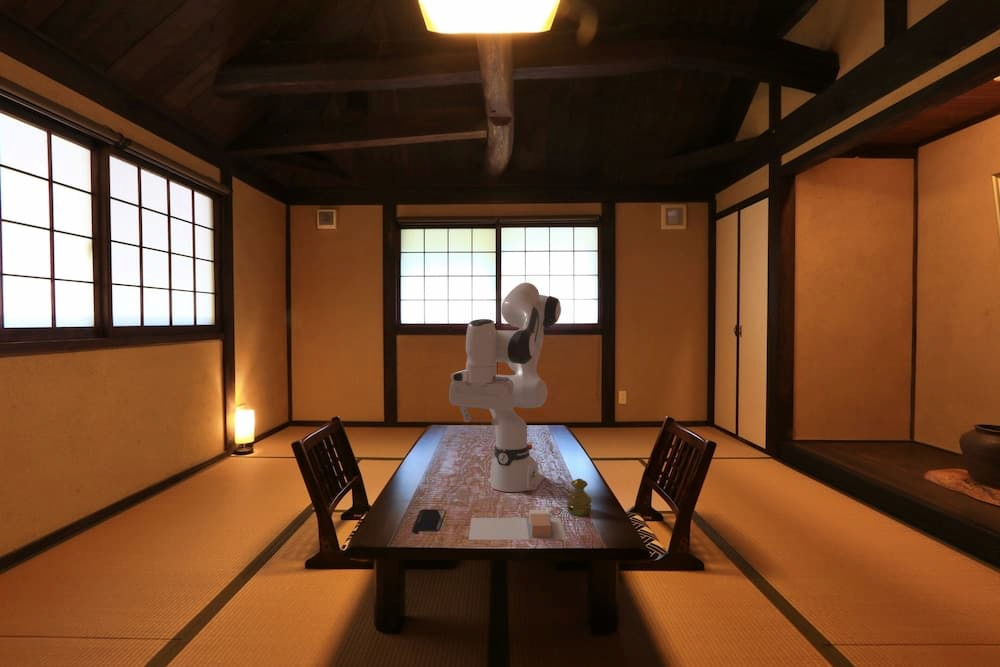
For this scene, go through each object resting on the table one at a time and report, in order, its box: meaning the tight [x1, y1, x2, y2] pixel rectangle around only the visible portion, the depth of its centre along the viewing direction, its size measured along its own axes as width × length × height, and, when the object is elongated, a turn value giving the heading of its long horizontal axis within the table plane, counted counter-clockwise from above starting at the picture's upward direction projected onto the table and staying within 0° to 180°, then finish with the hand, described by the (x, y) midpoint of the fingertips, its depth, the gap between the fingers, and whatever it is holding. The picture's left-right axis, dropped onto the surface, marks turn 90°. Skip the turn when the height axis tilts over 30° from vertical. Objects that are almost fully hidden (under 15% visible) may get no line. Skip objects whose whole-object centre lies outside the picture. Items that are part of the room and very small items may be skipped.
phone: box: [411, 508, 446, 534], centre depth 142 cm, size 8×1×15 cm
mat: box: [468, 517, 568, 541], centre depth 137 cm, size 14×26×1 cm, turn 90°
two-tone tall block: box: [528, 509, 551, 537], centre depth 137 cm, size 11×5×3 cm, turn 0°
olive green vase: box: [566, 478, 593, 517], centre depth 150 cm, size 7×7×10 cm
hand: (481, 423), depth 142 cm, fingers open, 8 cm apart
